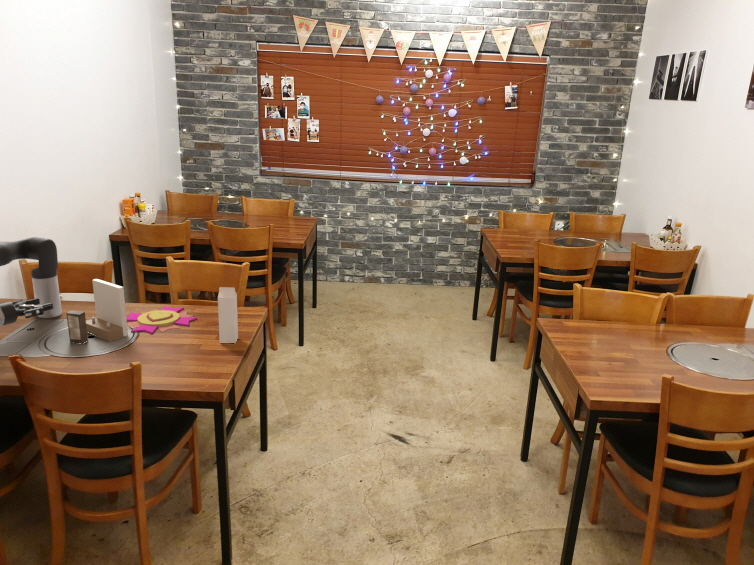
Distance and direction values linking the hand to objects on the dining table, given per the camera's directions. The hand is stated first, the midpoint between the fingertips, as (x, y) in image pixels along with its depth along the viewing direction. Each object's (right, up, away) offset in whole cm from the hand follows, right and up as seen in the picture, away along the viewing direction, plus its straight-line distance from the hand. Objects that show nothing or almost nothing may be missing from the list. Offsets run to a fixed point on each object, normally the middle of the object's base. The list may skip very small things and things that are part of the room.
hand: (45, 303), depth 208 cm
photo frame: (+5, -15, +14) cm, 21 cm away
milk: (+60, -16, +21) cm, 65 cm away
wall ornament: (+26, -9, +39) cm, 48 cm away
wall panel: (+11, -13, +23) cm, 28 cm away
